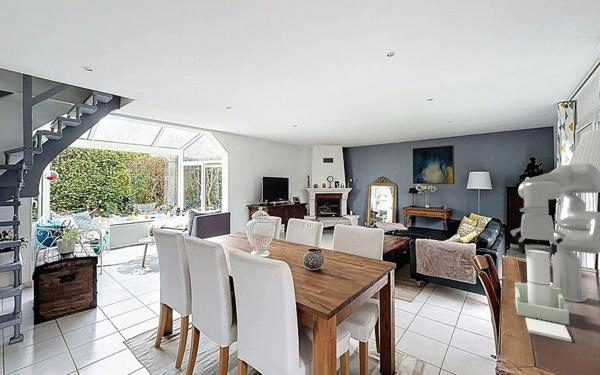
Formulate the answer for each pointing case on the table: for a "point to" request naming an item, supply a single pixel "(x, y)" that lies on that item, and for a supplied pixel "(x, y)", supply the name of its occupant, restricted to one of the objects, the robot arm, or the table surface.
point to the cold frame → (553, 314)
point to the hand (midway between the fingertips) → (537, 252)
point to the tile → (548, 329)
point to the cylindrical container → (538, 278)
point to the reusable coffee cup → (537, 248)
